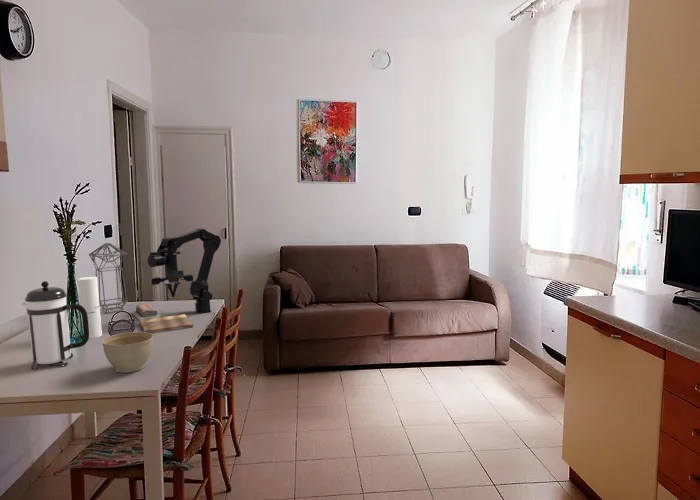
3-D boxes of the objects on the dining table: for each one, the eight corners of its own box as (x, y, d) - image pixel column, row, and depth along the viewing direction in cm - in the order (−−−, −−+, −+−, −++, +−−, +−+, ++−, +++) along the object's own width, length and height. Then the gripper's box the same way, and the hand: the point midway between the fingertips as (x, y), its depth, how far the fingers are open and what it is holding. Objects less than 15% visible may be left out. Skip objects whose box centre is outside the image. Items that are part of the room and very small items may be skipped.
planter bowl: (153, 373, 171) (151, 342, 170) (101, 379, 167) (98, 347, 165) (157, 358, 187) (155, 329, 185) (109, 363, 182) (106, 334, 181)
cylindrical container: (105, 334, 219) (100, 277, 216) (91, 339, 213) (85, 280, 210) (94, 332, 222) (89, 276, 219) (79, 337, 216) (74, 279, 213)
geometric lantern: (99, 316, 252) (93, 245, 247) (93, 310, 264) (87, 243, 260) (133, 311, 261) (127, 242, 257) (125, 305, 274) (120, 240, 269)
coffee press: (44, 374, 173) (35, 287, 170) (20, 366, 182) (11, 283, 178) (92, 358, 188) (85, 278, 184) (68, 352, 196) (61, 275, 193)
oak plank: (185, 317, 246) (184, 314, 246) (187, 320, 240) (187, 316, 240) (140, 323, 237) (140, 320, 237) (141, 326, 231) (141, 323, 231)
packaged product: (131, 305, 255) (152, 302, 261) (132, 314, 256) (153, 311, 261) (138, 311, 240) (160, 308, 246) (139, 322, 241) (161, 318, 246)
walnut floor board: (187, 320, 240) (187, 317, 240) (193, 327, 227) (193, 324, 227) (142, 326, 231) (141, 323, 230) (145, 334, 218) (145, 330, 218)
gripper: (151, 268, 228) (154, 302, 230) (194, 264, 236) (196, 297, 238) (148, 265, 237) (151, 298, 239) (190, 261, 246) (192, 293, 248)
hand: (173, 297), depth 241 cm, fingers closed
